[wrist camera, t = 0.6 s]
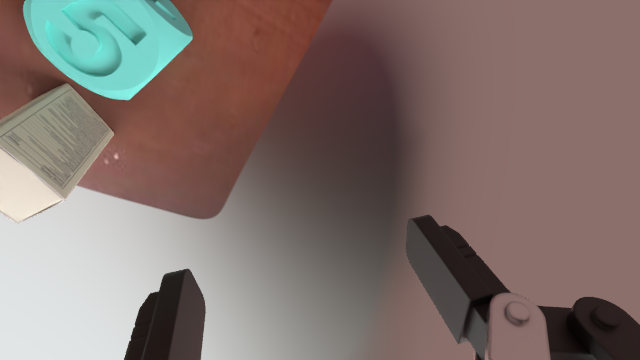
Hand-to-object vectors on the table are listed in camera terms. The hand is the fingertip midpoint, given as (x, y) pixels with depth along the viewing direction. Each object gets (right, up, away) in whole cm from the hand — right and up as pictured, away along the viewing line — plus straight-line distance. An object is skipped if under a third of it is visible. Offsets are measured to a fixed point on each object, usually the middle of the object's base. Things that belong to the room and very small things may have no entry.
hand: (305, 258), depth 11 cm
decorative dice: (-16, +17, +17) cm, 29 cm away
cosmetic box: (-24, +9, +20) cm, 33 cm away
